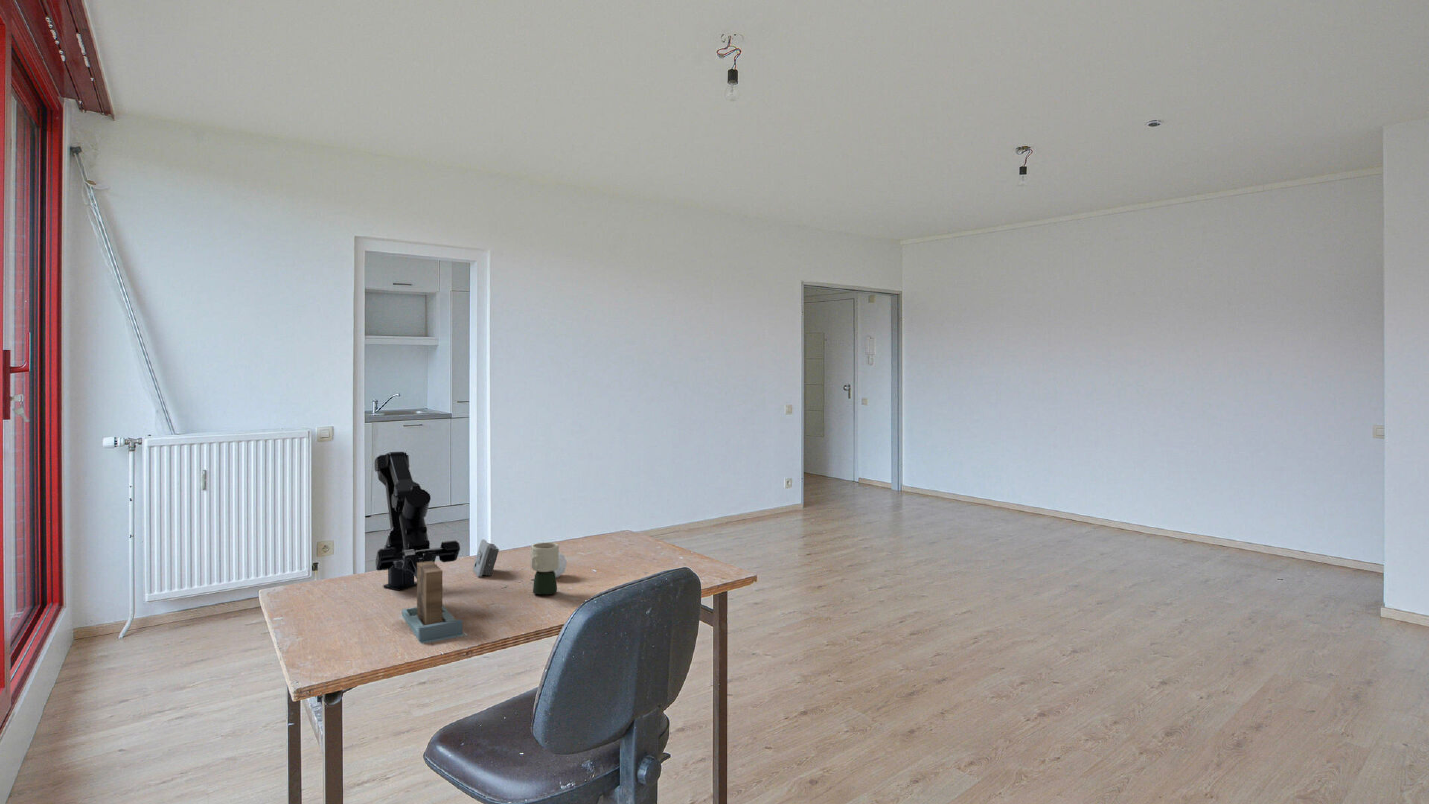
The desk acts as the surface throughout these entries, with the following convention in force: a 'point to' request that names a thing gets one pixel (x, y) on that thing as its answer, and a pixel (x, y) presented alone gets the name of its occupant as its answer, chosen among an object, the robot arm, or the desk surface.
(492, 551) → the electrical switch
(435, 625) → the slot base
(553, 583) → the character mug
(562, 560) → the geometric ball
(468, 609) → the desk surface
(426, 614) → the brown wooden block
